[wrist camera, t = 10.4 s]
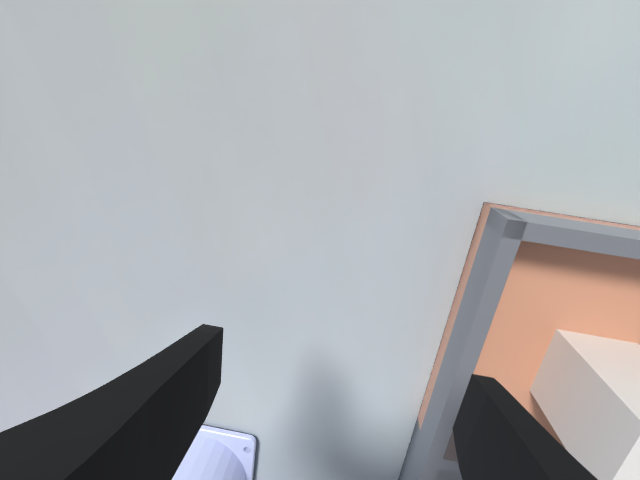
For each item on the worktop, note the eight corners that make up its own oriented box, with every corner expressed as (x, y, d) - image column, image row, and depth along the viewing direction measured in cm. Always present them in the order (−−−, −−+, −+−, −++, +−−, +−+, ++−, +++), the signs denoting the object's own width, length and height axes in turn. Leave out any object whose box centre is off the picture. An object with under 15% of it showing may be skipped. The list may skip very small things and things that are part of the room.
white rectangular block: (604, 403, 19) (705, 524, 13) (529, 390, 19) (598, 502, 14) (637, 343, 18) (766, 449, 12) (556, 329, 18) (645, 426, 12)
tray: (562, 595, 26) (586, 653, 23) (375, 554, 27) (376, 606, 24) (786, 249, 16) (873, 277, 14) (483, 202, 17) (507, 219, 14)
